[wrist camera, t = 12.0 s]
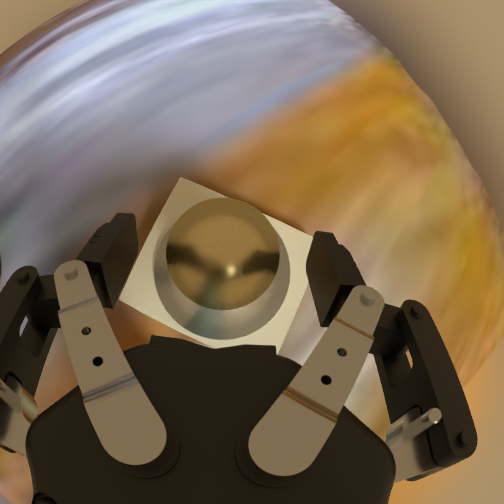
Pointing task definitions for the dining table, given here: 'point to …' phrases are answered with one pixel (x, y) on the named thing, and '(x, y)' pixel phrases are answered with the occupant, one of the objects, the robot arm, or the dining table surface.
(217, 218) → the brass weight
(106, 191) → the dining table surface
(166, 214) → the base
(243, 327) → the scale pan
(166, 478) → the robot arm
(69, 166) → the dining table surface
